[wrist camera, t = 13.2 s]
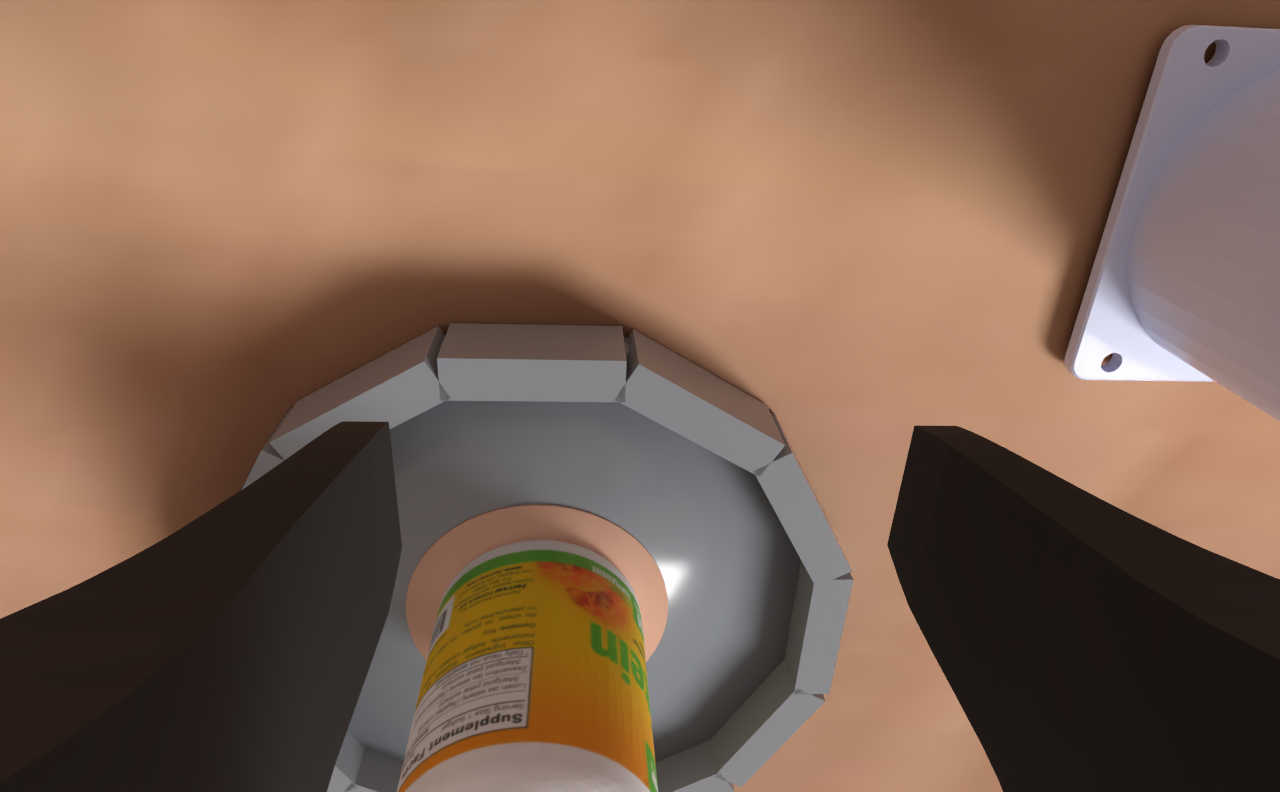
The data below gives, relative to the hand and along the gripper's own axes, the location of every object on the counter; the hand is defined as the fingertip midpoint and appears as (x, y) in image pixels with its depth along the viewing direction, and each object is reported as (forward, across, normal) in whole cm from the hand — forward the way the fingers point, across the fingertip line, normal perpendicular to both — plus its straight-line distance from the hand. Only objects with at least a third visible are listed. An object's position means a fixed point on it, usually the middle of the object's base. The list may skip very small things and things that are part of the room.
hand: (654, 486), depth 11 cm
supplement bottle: (+8, +2, +9) cm, 12 cm away
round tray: (+8, +2, +9) cm, 12 cm away
